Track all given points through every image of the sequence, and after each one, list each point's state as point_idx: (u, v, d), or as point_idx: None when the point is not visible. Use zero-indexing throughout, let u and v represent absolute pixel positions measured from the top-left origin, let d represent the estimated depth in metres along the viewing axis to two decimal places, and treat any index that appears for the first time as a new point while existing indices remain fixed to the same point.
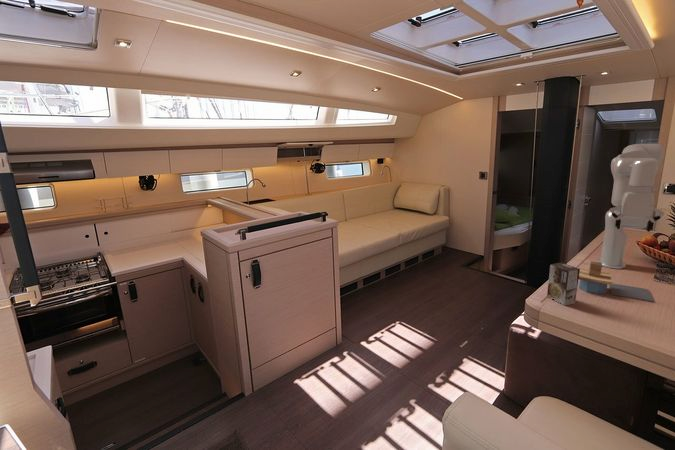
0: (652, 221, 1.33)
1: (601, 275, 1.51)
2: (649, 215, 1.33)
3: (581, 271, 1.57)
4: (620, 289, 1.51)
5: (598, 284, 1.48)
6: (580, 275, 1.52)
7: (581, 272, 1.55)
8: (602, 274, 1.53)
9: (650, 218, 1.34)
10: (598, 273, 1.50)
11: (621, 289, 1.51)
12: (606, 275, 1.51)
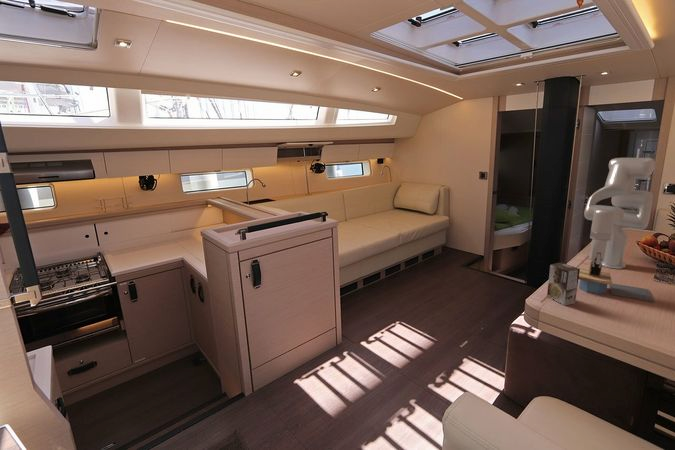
0: None
1: (601, 275, 1.51)
2: None
3: (581, 271, 1.57)
4: (620, 289, 1.51)
5: (598, 284, 1.48)
6: (580, 275, 1.52)
7: (581, 272, 1.55)
8: (602, 274, 1.53)
9: None
10: None
11: (621, 289, 1.51)
12: (606, 275, 1.51)
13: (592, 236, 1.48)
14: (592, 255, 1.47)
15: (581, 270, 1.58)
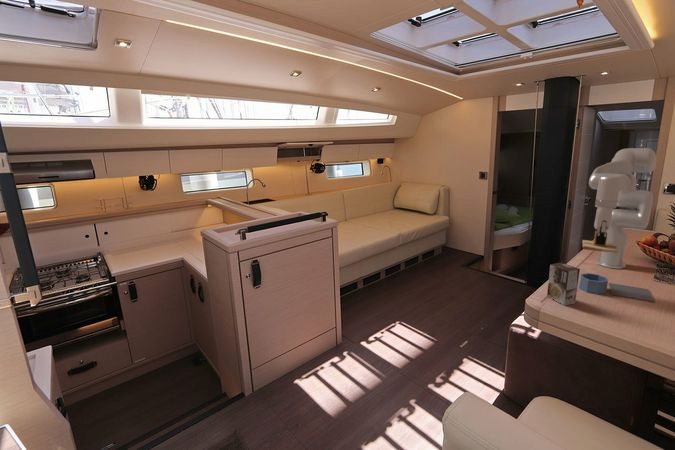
0: None
1: (606, 245, 1.48)
2: None
3: (586, 242, 1.53)
4: (620, 289, 1.51)
5: (598, 284, 1.48)
6: (585, 245, 1.49)
7: (585, 243, 1.52)
8: (608, 244, 1.49)
9: None
10: None
11: (621, 289, 1.51)
12: (611, 245, 1.48)
13: (597, 204, 1.44)
14: (597, 223, 1.43)
15: (586, 241, 1.54)
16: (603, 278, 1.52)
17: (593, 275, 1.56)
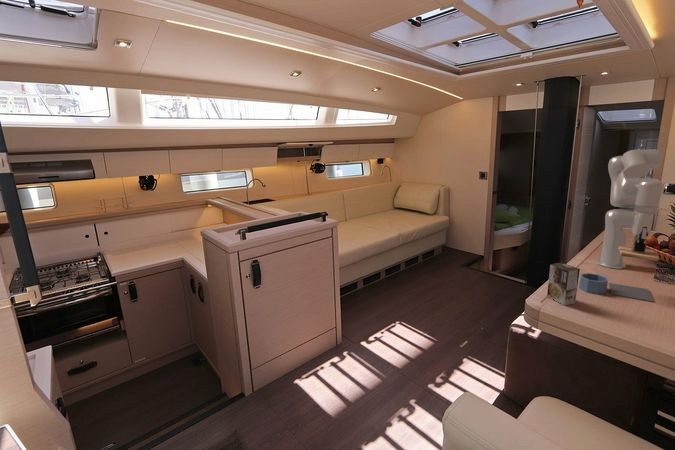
0: None
1: (645, 252, 1.44)
2: None
3: (623, 248, 1.49)
4: (620, 289, 1.51)
5: (598, 284, 1.48)
6: (623, 252, 1.44)
7: (623, 249, 1.47)
8: (646, 250, 1.45)
9: None
10: None
11: (621, 289, 1.51)
12: (651, 252, 1.43)
13: (637, 210, 1.40)
14: (637, 230, 1.39)
15: (622, 247, 1.50)
16: (603, 278, 1.52)
17: (593, 275, 1.56)
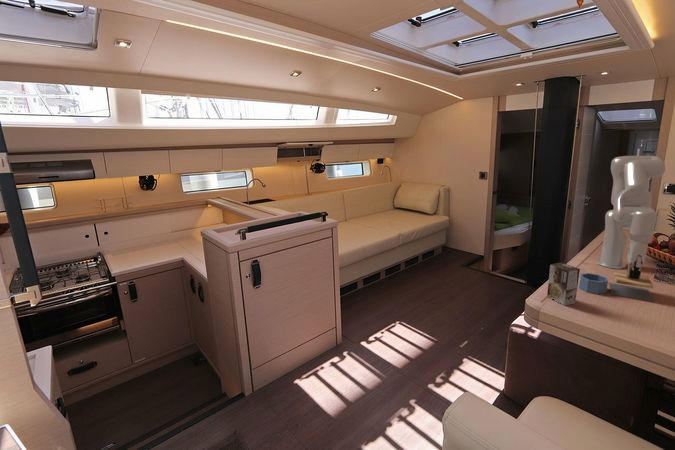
0: None
1: (640, 279, 1.47)
2: None
3: (618, 274, 1.52)
4: (620, 289, 1.51)
5: (598, 284, 1.48)
6: (618, 279, 1.47)
7: (618, 276, 1.50)
8: (641, 277, 1.48)
9: None
10: None
11: (621, 289, 1.51)
12: (645, 279, 1.46)
13: (631, 238, 1.43)
14: (632, 258, 1.42)
15: (618, 273, 1.53)
16: (603, 278, 1.52)
17: (593, 275, 1.56)
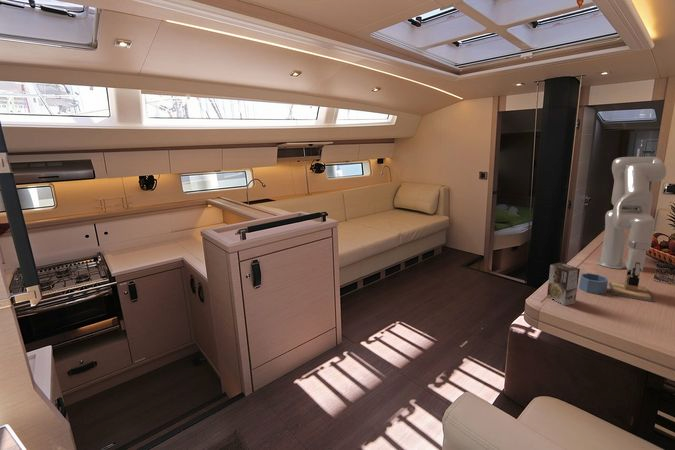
0: None
1: (638, 289, 1.48)
2: None
3: (616, 285, 1.53)
4: None
5: (598, 284, 1.48)
6: (616, 289, 1.49)
7: (616, 286, 1.52)
8: (639, 288, 1.49)
9: None
10: (635, 287, 1.46)
11: None
12: (643, 289, 1.48)
13: (630, 245, 1.44)
14: (630, 265, 1.43)
15: (616, 283, 1.55)
16: (603, 278, 1.52)
17: (593, 275, 1.56)
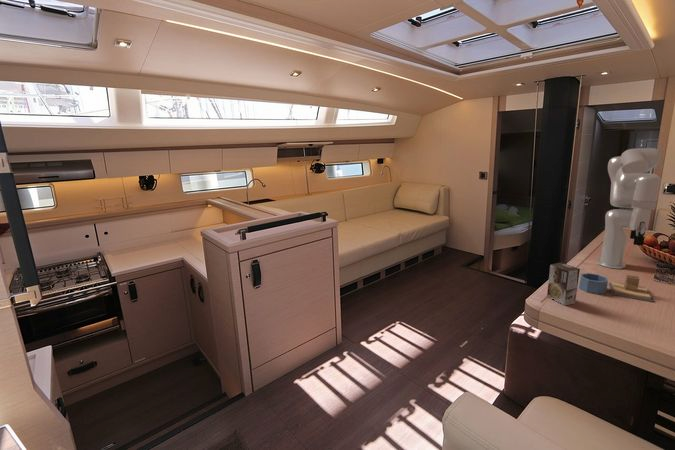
0: None
1: (638, 289, 1.48)
2: None
3: (616, 285, 1.53)
4: None
5: (598, 284, 1.48)
6: (616, 289, 1.49)
7: (616, 286, 1.52)
8: (639, 288, 1.49)
9: None
10: (635, 287, 1.46)
11: None
12: (643, 289, 1.48)
13: (635, 205, 1.41)
14: (635, 225, 1.40)
15: (616, 283, 1.55)
16: (603, 278, 1.52)
17: (593, 275, 1.56)
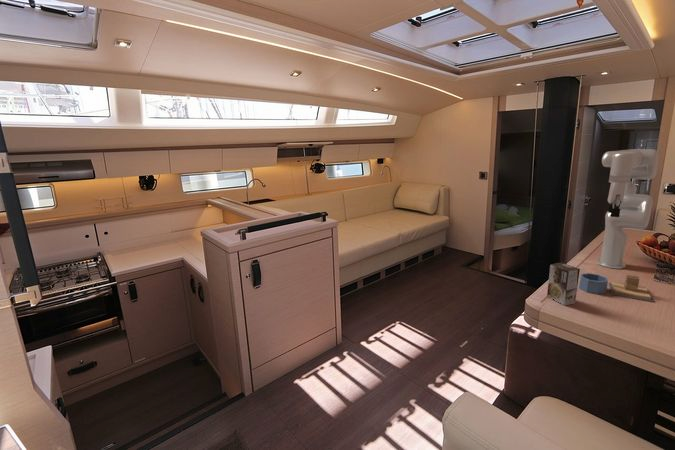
0: None
1: (638, 289, 1.48)
2: None
3: (616, 285, 1.53)
4: None
5: (598, 284, 1.48)
6: (616, 289, 1.49)
7: (616, 286, 1.52)
8: (639, 288, 1.49)
9: None
10: (635, 287, 1.46)
11: None
12: (643, 289, 1.48)
13: (611, 180, 1.53)
14: (611, 198, 1.52)
15: (616, 283, 1.55)
16: (603, 278, 1.52)
17: (593, 275, 1.56)
